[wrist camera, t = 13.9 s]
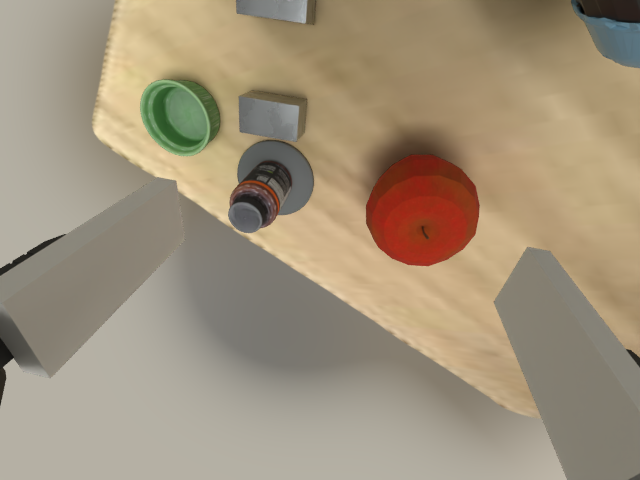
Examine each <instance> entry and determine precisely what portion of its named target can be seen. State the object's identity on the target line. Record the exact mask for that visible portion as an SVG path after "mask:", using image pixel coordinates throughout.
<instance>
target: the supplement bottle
mask: <svg viewBox="0 0 640 480" xmlns="http://www.w3.org/2000/svg"><path fill="white" fill-rule="evenodd" d="M291 188H292V179H291V175H290V173H289V172H288V170H287V169H286V168H285V167H284V166H283V165H281V164H279V163H277V162H274V161H264V162H261V163H259V164H258V165H257V166H256V167H255V168H254V169H253V170H252V171H251V172H250V173H249V174H248V175H247V176H246V177H245V178H244V179H243V180H242V182H241V183H240V184H239V185H238V186H237V187H236V188H235V189H234V191H233V192H232V194H231V197H230V209H229V212H228V216H229V220H230V222H231V223H232V225H233V226H234V227H235V228H236V229H238V230H239V231H241V232H245V233H253V232H256V231H257V230H259V229H260V228H264V227H267V226H268V225H270V224H271V223H272V222H273V221H274V220H275V218H276V216H277V215H278V213H279V211H280V209H281V208H282V206H283V204H284V202H285V200H287V197H288V195H289V193H290V191H291Z"/></svg>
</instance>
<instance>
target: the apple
mask: <svg viewBox="0 0 640 480" xmlns="http://www.w3.org/2000/svg"><path fill="white" fill-rule="evenodd" d="M479 206H480V205H479V200H478V196H477V191H476V187H475V185H474V184H473V182H472V181H471V180H470V179H469V178H468V177H467V175H466V174H465V173H464V172H463V171H462V170H461V169H460V168H458V167H457V166H455V165H453V164H452V163H450V162H447V161H445V160H443V159H441V158H439V157H436V156H434V155H410V156H408V157H406V158H404V159H402V160H400V161H399V162H397V163H395V164H393V165H392V166H391V167H390V168H389V169H388V170H387V171H386V172H385V173H384V174H383V175H382V176H381V177H380V178H379V179H378V181H377V183H376V184H375V186H374V188H373V190H372V193H371V195H370V198H369V200H368V202H367V205H366V224H367V226H368V228H369V230H370V232H371V235H372V237H373V239H374V241H375V242H376V244H377V246H378V247H379V248H380V249H381V250H382V251H383V252H385V253H386V254H387V255H388V256H390V257H391V258H392V259H395V260H397V261H400V262H402V263H405V264H407V265H417V266H430V265H433V264H436V263H439V262H442V261H444V260H447V259H449V258H450V257H452V256H453V255H455V254H456V253H458V252H459V251H461V250H463V249H464V248H465V246H466V245H467V244H468V243H469V241H470V240H471V239H472V238H473V237H474V235H475V233H476V228H477V223H478V218H479Z"/></svg>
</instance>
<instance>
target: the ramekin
mask: <svg viewBox="0 0 640 480" xmlns="http://www.w3.org/2000/svg"><path fill="white" fill-rule="evenodd" d="M140 110H141V116H142V120H143V123H144V125H145V127H146V129H147V131H148V133H149V134H150V135H151V137H152V138H153V139H154V140H155V141H156V142H157V143H158V144H159V145H160V146H161V147H162V148H164V149H165V150H167V151H168V152H170V153H173V154H175V155H179V156H192V155H195V154H197V153H199V152H201V151H202V150H203V149H204V148H205V147H206V145H207V144H208V143H209V142H210V141H211V140H212V139H213V138H214V137H215V136H216V134H217V132H218V129H219V125H220V116H219V111H218V108H217V105H216V103H215V101H214V99H213V98H212V96H211V95H210V94H209V93H208V92H207V91H206V90H205V89H204V88H203V87H201V86H200V85H198V84H196V83H194V82H191V81H186V80H178V81H174V80H167V79H164V80H158V81H155V82H153V83H151V84H150V85H149V86H148V87H147V88H146V89H145V91H144V92H143V95H142V98H141V103H140Z"/></svg>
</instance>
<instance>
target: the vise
mask: <svg viewBox="0 0 640 480" xmlns="http://www.w3.org/2000/svg"><path fill="white" fill-rule="evenodd" d="M236 8H237V14H244V15H250V16H257V17H264V18H271V19H278V20H285V21H292V22H299V23H306V24H313V25H314V19H315V8H316V0H236ZM306 109H307V99H303V98H297V97H290V96H284V95H278V94H272V93H266V92H260V91H254V90H252V91H250V92H247V93H245V94H243V95H240V96H239V124H240V132H242V133H248V134H254V135H259V136H265V137H271V138H277V139H283V140H288V141H294V142H297V141H298V139H299V138H300V137H301V136H302V135H303V133H304V131H305V120H306Z"/></svg>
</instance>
